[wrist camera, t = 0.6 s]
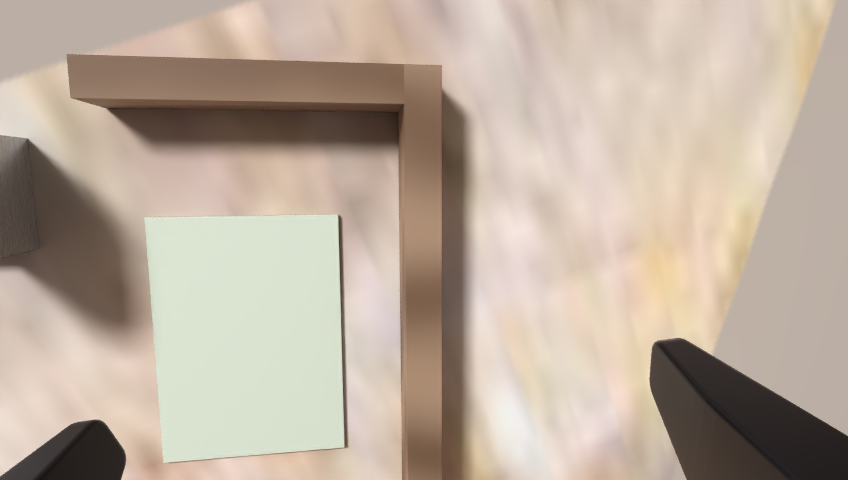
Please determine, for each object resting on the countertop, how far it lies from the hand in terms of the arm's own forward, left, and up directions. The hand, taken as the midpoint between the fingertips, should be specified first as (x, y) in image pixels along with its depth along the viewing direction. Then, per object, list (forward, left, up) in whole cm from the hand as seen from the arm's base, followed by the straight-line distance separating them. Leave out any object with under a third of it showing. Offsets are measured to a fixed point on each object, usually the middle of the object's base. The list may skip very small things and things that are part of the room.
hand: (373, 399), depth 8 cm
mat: (-4, +5, -15) cm, 16 cm away
